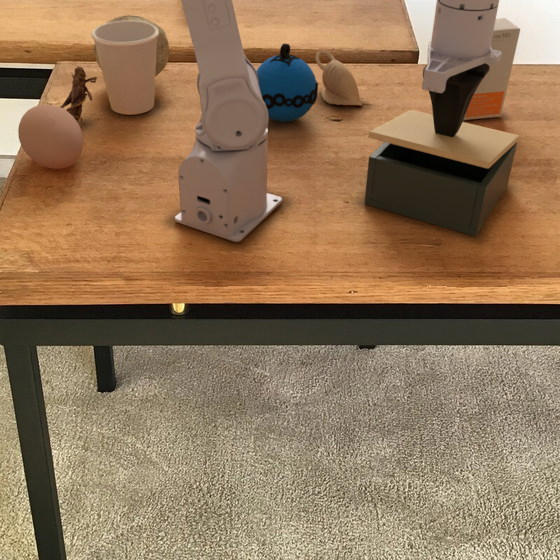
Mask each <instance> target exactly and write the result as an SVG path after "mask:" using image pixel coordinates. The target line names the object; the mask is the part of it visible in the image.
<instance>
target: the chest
mask: <svg viewBox="0 0 560 560" xmlns="http://www.w3.org/2000/svg"><path fill="white" fill-rule="evenodd" d="M517 147H518V141H517V142H516V143H515V144H514V145H513V146H512V147H511V148H510V149H509V150H508V151H507V152H506V153H505V154H503V155H502V156H501V157H500V158H499V159H498V160H497V161H496V162H495V163H494V164H493V165H492V166H491V167H490V168H489V169H487V168H483V167H479V166H476V165H472V164H468V163H464V162H460V161H456V160H452V159H449V158H445V157H441V156H437V155H433V154H429V153H425V152H422V151H418V150H414V149H410V148H406V147H402V146H398V145H395V144H391V143H387V142H383V141H382V143H381V144H380V145H379V146H378V147H377V148H376V149H375V150H374V151H373V152H372V153H371V154H370V155H369V156H368V165H367V173H366V174H367V175H366V183H365V184H366V185H365V194H364V205H367V206H371V207H374V208H377V209H381V210H383V211H384V210H385V211H388V212H391V213H394V214H397V215H401V216H405V217H407V218H411V219H415V220H417V221H421V222H425V223H428V224H432V225H435V226H438V227H441V228H445V229H448V230H452V231H456V232H458V233H462V234H466V235H469V236H472V237H475V238H476V237H477V235H478V234H479V232H480V231H481V230H482V228H483V226H484V224H485V223H486V221H487V220H488V218H489V217H490V216H491V214H492V212H493V210H495V208H496V206H497V204H498V203H499V202H500V199H501V198H502V196H503V195H504V194H505V192H506V190H507V189H508V186H509V182H510V177H511V173H512V169H513V164H514V160H515V156H516V150H517Z"/></svg>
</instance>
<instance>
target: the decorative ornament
mask: <svg viewBox="0 0 560 560" xmlns="http://www.w3.org/2000/svg"><path fill="white" fill-rule="evenodd" d="M320 55H326V56H327V57H328V58H329V59H330V61H329V62H328V63H326V64H325V65H324V64H323V63H322V62H321V60H320ZM314 57H315V59H314V60H315V62H316V65H317V66H318V67H319V68H320V70H322V76H321V78H322V84H323V88H322V89H321V96H322V100H323V101H324V102H325V103H327V104H329V105H337V106H340V105H341V106H361V107H362V106H363V104H362V102H361V99H360V92H359V87H358V85H357V82H356V79H355V77H354V76H353V73H352V72H351V71H350V69H349V68H348V67H347V66H346V65H345V64H344V63H343V62H341V61H339V60H337V59H336V58H335V57H334V55H333V53H331V52H330V51H328V50H327V49H326V50H325V49H320V50H318V51H316V54H315V56H314Z"/></svg>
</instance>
